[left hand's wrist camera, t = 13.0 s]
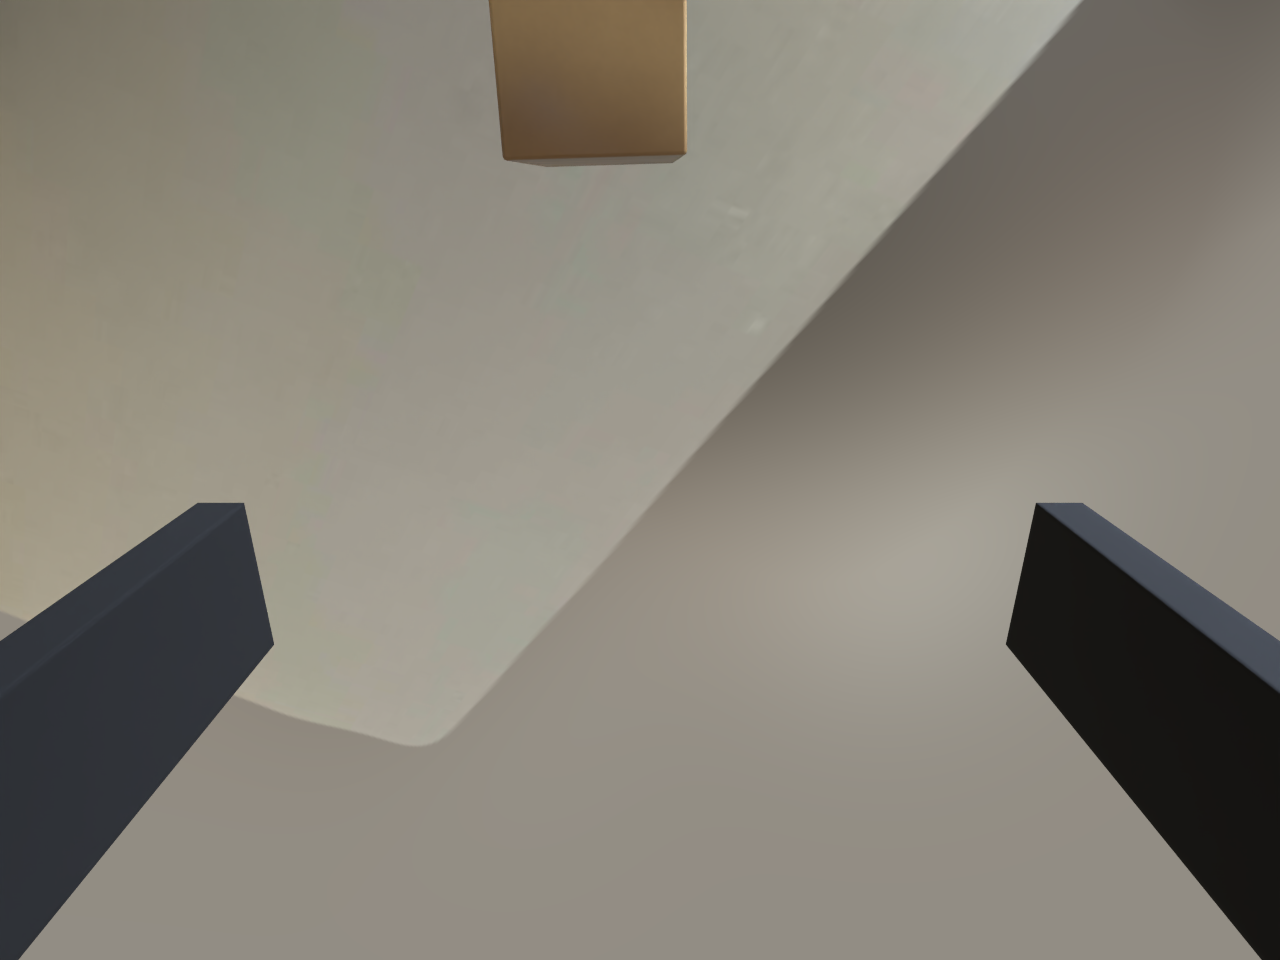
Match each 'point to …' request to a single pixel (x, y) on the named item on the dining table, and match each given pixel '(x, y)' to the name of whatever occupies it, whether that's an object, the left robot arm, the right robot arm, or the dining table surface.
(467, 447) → the dining table surface
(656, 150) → the bar
